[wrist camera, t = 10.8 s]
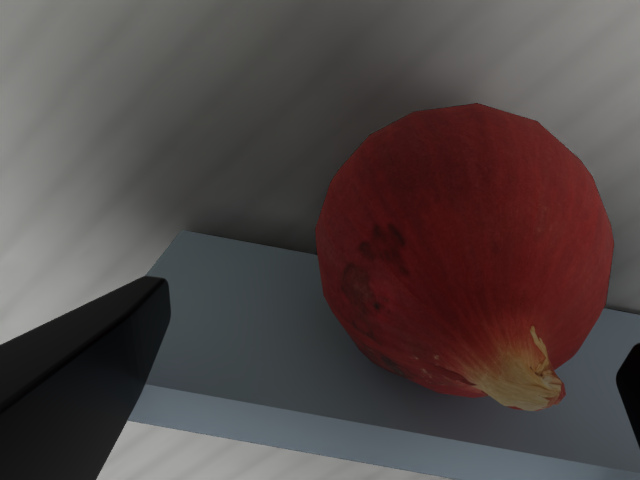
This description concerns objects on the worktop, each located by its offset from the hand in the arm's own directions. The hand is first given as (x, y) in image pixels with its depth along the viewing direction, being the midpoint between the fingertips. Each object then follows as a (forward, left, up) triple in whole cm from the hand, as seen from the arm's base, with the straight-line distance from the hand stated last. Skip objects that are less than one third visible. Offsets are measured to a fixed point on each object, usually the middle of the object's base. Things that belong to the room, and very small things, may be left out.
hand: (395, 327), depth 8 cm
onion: (0, -1, -6) cm, 6 cm away
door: (-4, 0, -5) cm, 6 cm away
